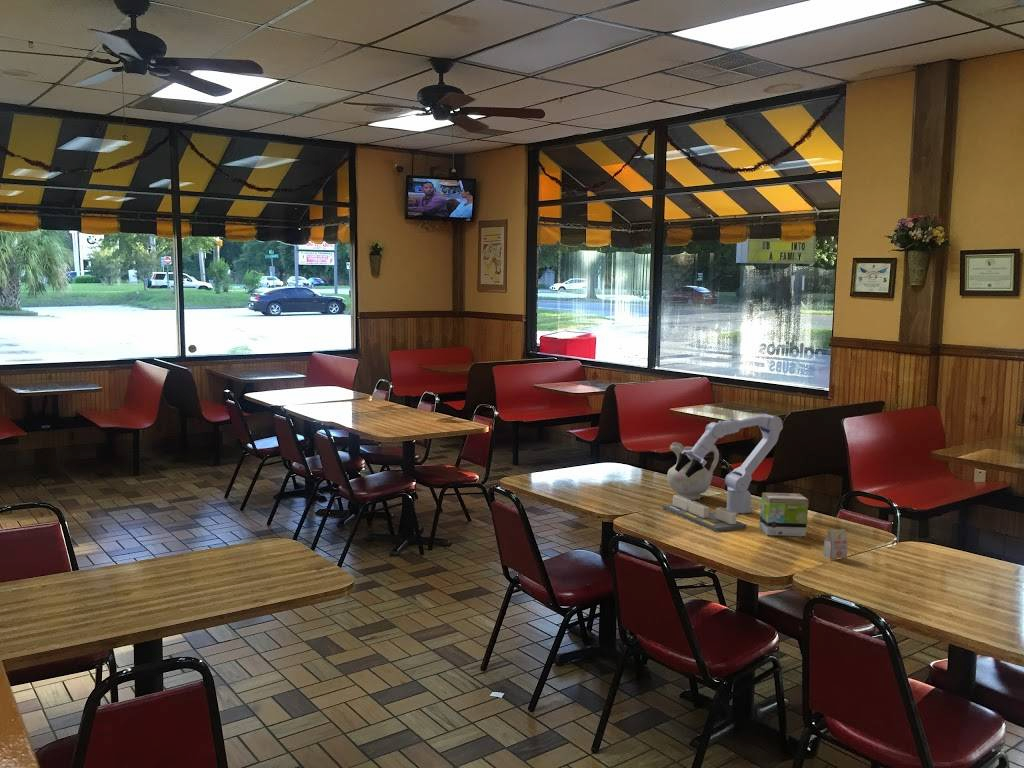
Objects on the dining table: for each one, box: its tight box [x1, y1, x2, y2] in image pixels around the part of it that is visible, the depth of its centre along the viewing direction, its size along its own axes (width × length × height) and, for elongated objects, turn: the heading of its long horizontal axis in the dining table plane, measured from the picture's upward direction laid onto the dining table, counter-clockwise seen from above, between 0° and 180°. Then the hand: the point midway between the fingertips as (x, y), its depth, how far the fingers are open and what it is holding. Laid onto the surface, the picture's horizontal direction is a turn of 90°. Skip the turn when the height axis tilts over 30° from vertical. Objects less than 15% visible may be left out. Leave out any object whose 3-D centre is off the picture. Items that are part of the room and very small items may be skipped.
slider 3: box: [714, 506, 738, 524], centre depth 337 cm, size 2×10×5 cm, turn 24°
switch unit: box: [662, 504, 747, 533], centre depth 347 cm, size 14×36×2 cm, turn 24°
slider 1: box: [671, 494, 693, 511], centre depth 356 cm, size 2×10×5 cm, turn 24°
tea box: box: [758, 492, 809, 537], centre depth 328 cm, size 15×10×15 cm, turn 92°
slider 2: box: [689, 500, 710, 518], centre depth 346 cm, size 2×10×5 cm, turn 24°
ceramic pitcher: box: [666, 441, 720, 501], centre depth 382 cm, size 22×20×25 cm
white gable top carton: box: [822, 528, 849, 559], centre depth 299 cm, size 4×7×10 cm, turn 107°
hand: (681, 473), depth 351 cm, fingers open, 7 cm apart
